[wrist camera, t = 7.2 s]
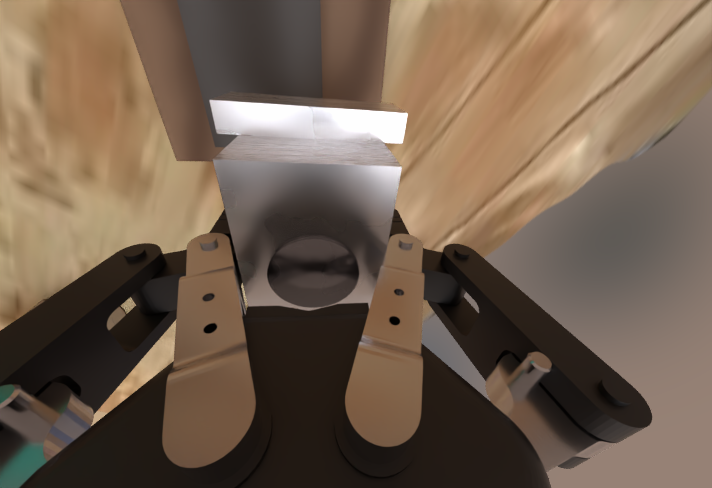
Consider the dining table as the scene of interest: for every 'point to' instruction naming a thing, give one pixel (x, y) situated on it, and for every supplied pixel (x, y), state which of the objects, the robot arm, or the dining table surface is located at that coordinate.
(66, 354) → the robot arm
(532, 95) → the dining table surface
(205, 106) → the stand
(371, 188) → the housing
